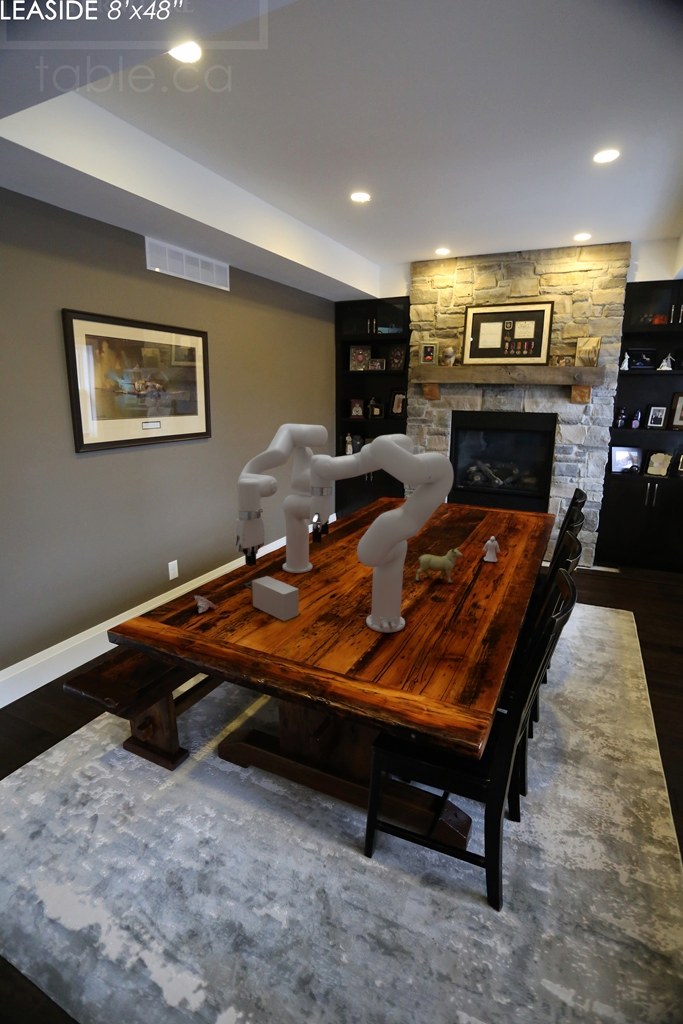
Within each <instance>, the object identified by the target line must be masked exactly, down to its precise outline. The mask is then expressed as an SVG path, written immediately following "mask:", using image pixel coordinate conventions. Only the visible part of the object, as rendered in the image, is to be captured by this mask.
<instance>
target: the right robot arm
mask: <svg viewBox="0 0 683 1024" xmlns="http://www.w3.org/2000/svg"><path fill="white" fill-rule="evenodd" d="M414 451H415V443H414V442H413V440H412V439H411V437H410V436H408V435H406V434H403V433H393V434H384V435H379V436H377V437H376V438H374V439H373V440H372V442H370V443H367V444H365V445H363V446H362V447H361V449H360V451H359V452H356V453H352V454H349V455H342V456H335V457H332V456H331V455H329V454H314V456H312V457H311V467H310V495H309V496H312V499H311V510H310V520H309V524H310V525H312V526H311V529H312V532H311V533H312V534H311V536H312V537H311V540H312V543H315V544H316V543H318V544H321V543H322V542H323V536H329V533H330V515H331V501H330V500H331V497H332V496H333V481H338V480H339V481H340V480H345V479H350V478H355V477H359V476H362V475H366V474H369V473H372V472H375V471H379V470H383V471H385V472H386V473H388V474H389V475H390V476H392V477H394V478H395V479H396V480H398V481H399V482H401V483H403V484H405V485H407V486H411V487H415V486H416V489H414V490H413V492H411V493H410V495H409V497H408V498H407V499H406V500H405V501H404V502H403V504H402V505H400V506H399V507H397V508H395V509H391V510H388V511H385V512H382V513H381V514H379V516H378V517H376V518H375V520H374V521H373V522H372V523H371V525H370V526H369V527H368V528H367V530H366V531H365V533H364V534H363V535H362V537H360V540H359V541H358V544H357V548H356V554H357V555H356V556H357V558H358V560H359V562H360V563H361V564H362V565H363V566H365V567H368V568H373V569H372V585H371V586H372V587H371V607H370V609H371V613H370V615H368V616H367V617H366V621H365V622H366V623H365V624H366V625H367V627H368V628H369V629H372V630H373V631H376V632H379V633H396V632H398V631H402V630H403V629H404V628H405V626H406V620H405V618H403V617H402V615H401V614H402V599H403V598H402V597H403V580H404V567H405V562H406V557H407V553H408V541H407V540H408V539H409V540H410V539H412V538H413V537H416V536H417V534H419V532H420V531H421V529H422V528H423V527H424V526H425V525H426V523H428V521H429V520H430V518H431V517H432V516H433V515H434V513H435V512H436V511H437V510H438V508H440V506H441V505H442V503H443V502H444V501H445V500H446V499H447V497H448V495H449V494H450V492H451V489H452V487H453V484H454V477H455V476H454V469H453V465H452V463H451V461H450V459H449V458H448V457H447V456H446V455H445V454H443V453H440V452H436V451H435V452H434V451H432V452H423V453H416V454H414ZM417 486H418V487H417Z"/></svg>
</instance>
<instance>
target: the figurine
mask: <svg viewBox="0 0 683 1024" xmlns="http://www.w3.org/2000/svg"><path fill="white" fill-rule="evenodd" d="M482 551H483V552H486V554H485V556H484V557H483V560H484V561H485V562H495V563H498V558H497V554H496V553H498V554H499V553H501V550H500V547H499V543H498V541H497V540H496V538H495V536H493V535H492V536H490V539H489V540H487V542H486V543H485V544H484V546H483V548H482Z"/></svg>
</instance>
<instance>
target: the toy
mask: <svg viewBox="0 0 683 1024" xmlns="http://www.w3.org/2000/svg"><path fill="white" fill-rule="evenodd" d="M461 549H462V546H458V547H456V548H452V549H450V550H448V551H447V553H446V555H442V556H440V555H439V556H438V555H433V554H428V553H427V554H422V555H421V556H419V557H418V564H419V565H420V567H419V568H417V571H416V574H415V581H416V582H419V581H420V575H421V573H424V574H425V575H426V577H427V578H429V579H430V578H431V574H430V572H429V571H428V570H431V571H433V572H440V574H439V575H438V576H439V577H438V578H439V580H444V576H443V575H444V574H445V575H446V578H447V583H449V584H450V585H453V580H452V579H451V571H452V570H453V569H454V568H455V565H456V563H457V558H461V559H462V558H463V557H464V554H463V553H461V552H460V551H459V550H461Z"/></svg>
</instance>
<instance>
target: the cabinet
mask: <svg viewBox="0 0 683 1024" xmlns="http://www.w3.org/2000/svg"><path fill="white" fill-rule="evenodd" d="M251 581H252V585H253V602H252V606H253V607H254V608H256V609H258V610H260V611H263V612H265V613H266V614H269V615H270V616H273V617H275V618H277V619H279V620H281V621H283V622H287V621H288V620H290V619H292V618H295V617H297V616H299V615H300V611H299V610H300V609H299V606H300V604H299V603H300V601H299V599H300V597H299V594H300V593H299V590H300V589H299V588H298V587H295V586H292V585H290V584H288V583H286V582H283V581H280V580H278V579H276V578H273V577H272V576H271V577H270V576H268V575H265V576H263V577H260V578H256V579H253V580H251Z"/></svg>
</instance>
